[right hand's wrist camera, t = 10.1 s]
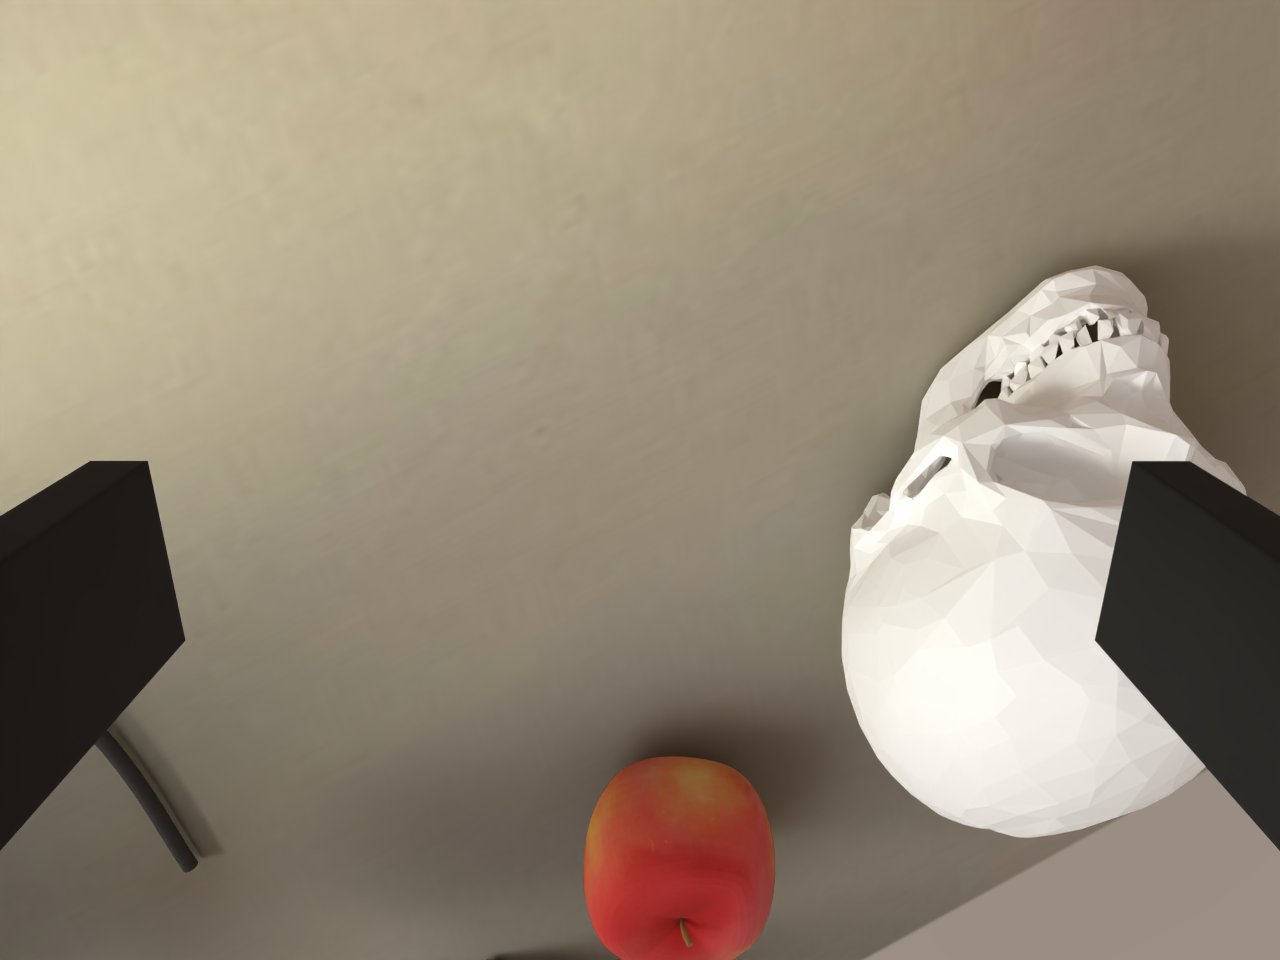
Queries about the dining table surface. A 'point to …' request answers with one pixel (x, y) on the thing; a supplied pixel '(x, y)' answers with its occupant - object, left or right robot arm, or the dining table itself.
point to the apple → (679, 862)
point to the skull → (1019, 572)
